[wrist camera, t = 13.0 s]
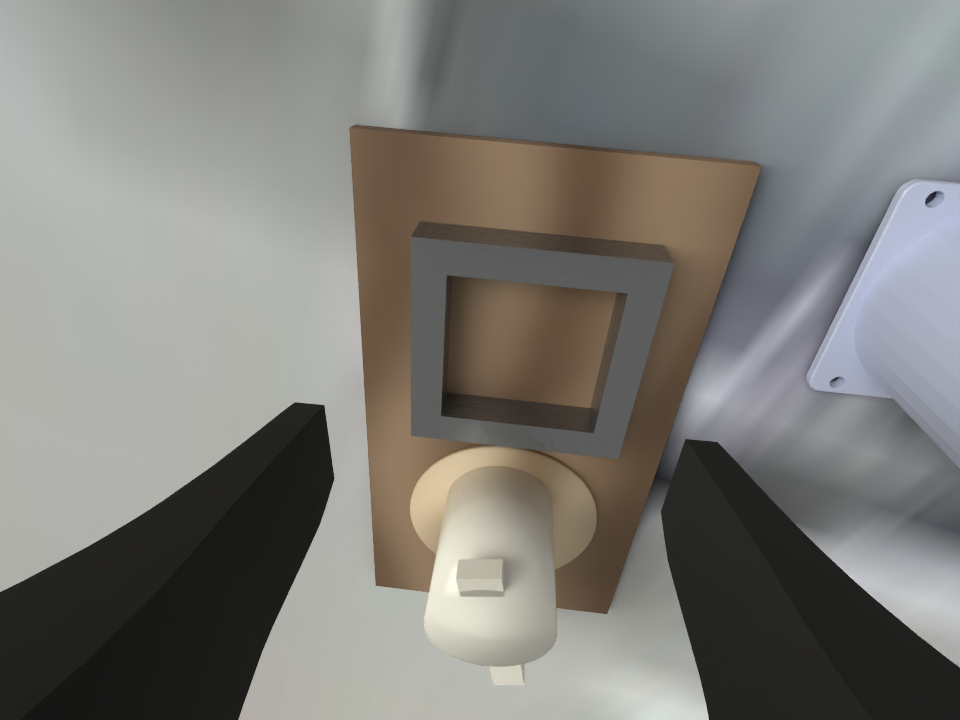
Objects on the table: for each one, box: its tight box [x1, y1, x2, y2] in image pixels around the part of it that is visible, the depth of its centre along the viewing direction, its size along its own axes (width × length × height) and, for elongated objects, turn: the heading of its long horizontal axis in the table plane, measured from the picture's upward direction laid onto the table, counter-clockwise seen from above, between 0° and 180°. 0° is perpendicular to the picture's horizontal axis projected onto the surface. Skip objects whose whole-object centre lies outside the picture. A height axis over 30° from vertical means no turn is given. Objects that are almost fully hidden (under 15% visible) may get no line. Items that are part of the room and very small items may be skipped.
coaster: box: [410, 445, 597, 569], centre depth 26 cm, size 9×9×1 cm
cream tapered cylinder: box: [424, 466, 557, 685], centre depth 23 cm, size 9×5×6 cm, turn 8°
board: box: [350, 125, 762, 614], centre depth 23 cm, size 13×24×1 cm, turn 176°
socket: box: [411, 221, 674, 459], centre depth 20 cm, size 8×8×2 cm
